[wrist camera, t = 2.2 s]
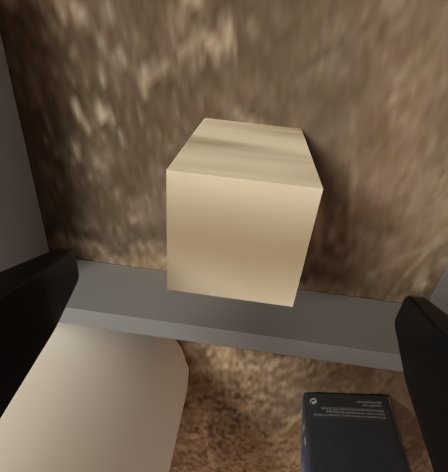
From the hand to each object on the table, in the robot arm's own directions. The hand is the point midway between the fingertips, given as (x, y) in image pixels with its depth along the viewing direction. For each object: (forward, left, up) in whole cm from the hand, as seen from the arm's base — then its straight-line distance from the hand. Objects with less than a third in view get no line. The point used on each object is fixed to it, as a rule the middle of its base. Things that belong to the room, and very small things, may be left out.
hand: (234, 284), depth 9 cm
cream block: (0, 0, -9) cm, 9 cm away
